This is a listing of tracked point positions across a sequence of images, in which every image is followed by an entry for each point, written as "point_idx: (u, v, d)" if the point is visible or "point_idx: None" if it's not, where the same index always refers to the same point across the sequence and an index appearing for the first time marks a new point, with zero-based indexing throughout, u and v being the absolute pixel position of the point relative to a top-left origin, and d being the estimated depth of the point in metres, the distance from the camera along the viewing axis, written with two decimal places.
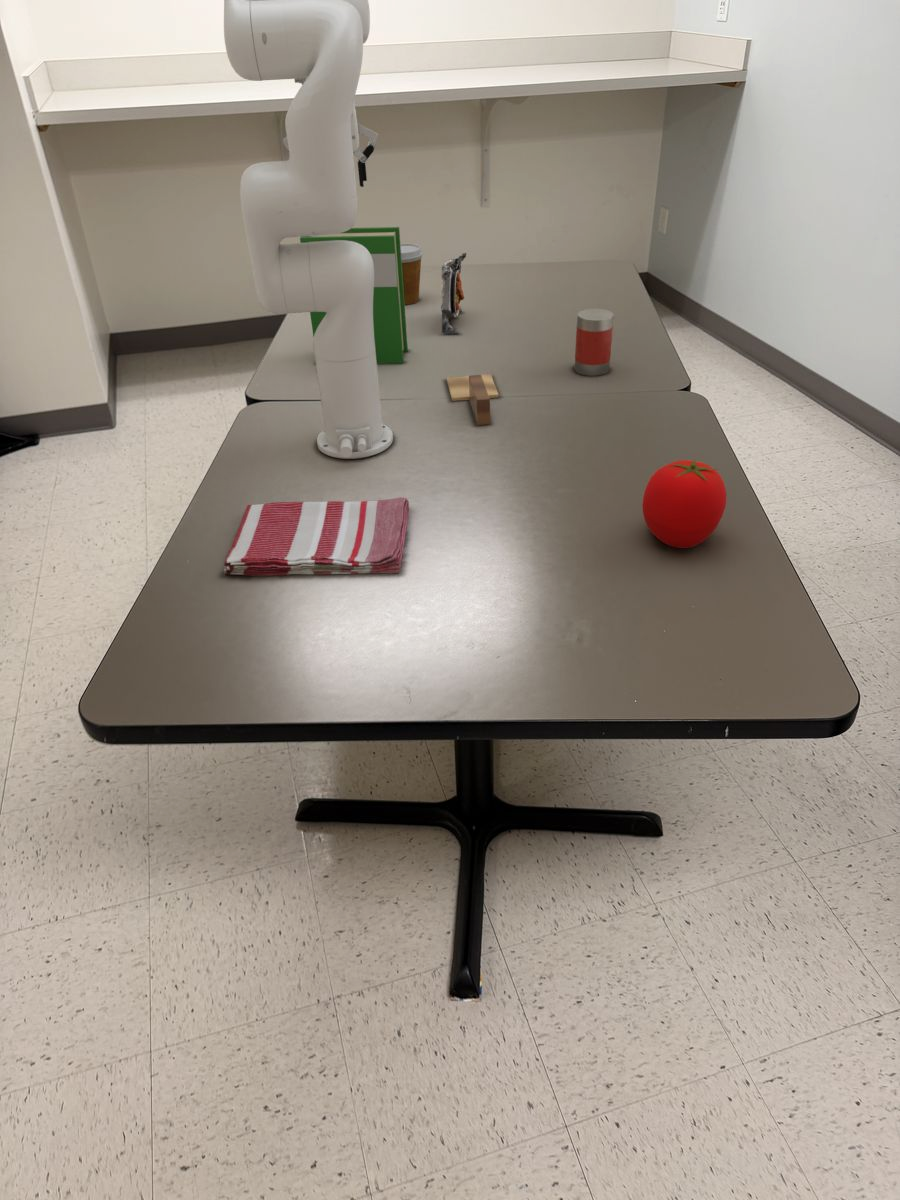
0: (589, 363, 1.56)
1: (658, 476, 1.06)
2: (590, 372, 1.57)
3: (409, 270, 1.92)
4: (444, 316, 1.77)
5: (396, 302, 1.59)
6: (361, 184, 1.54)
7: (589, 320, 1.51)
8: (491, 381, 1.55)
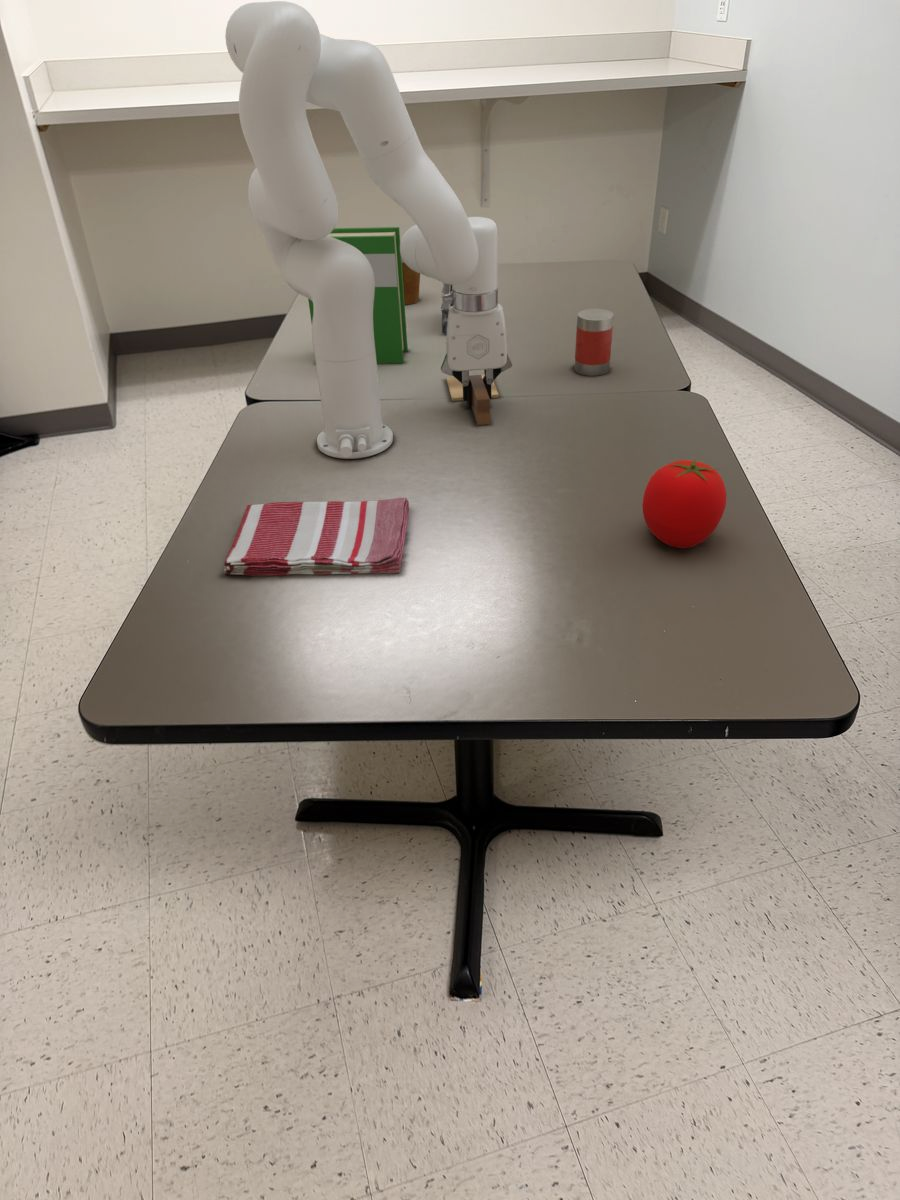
0: (589, 363, 1.56)
1: (658, 476, 1.06)
2: (590, 372, 1.57)
3: (409, 270, 1.92)
4: (444, 316, 1.77)
5: (396, 302, 1.59)
6: None
7: (589, 320, 1.51)
8: None
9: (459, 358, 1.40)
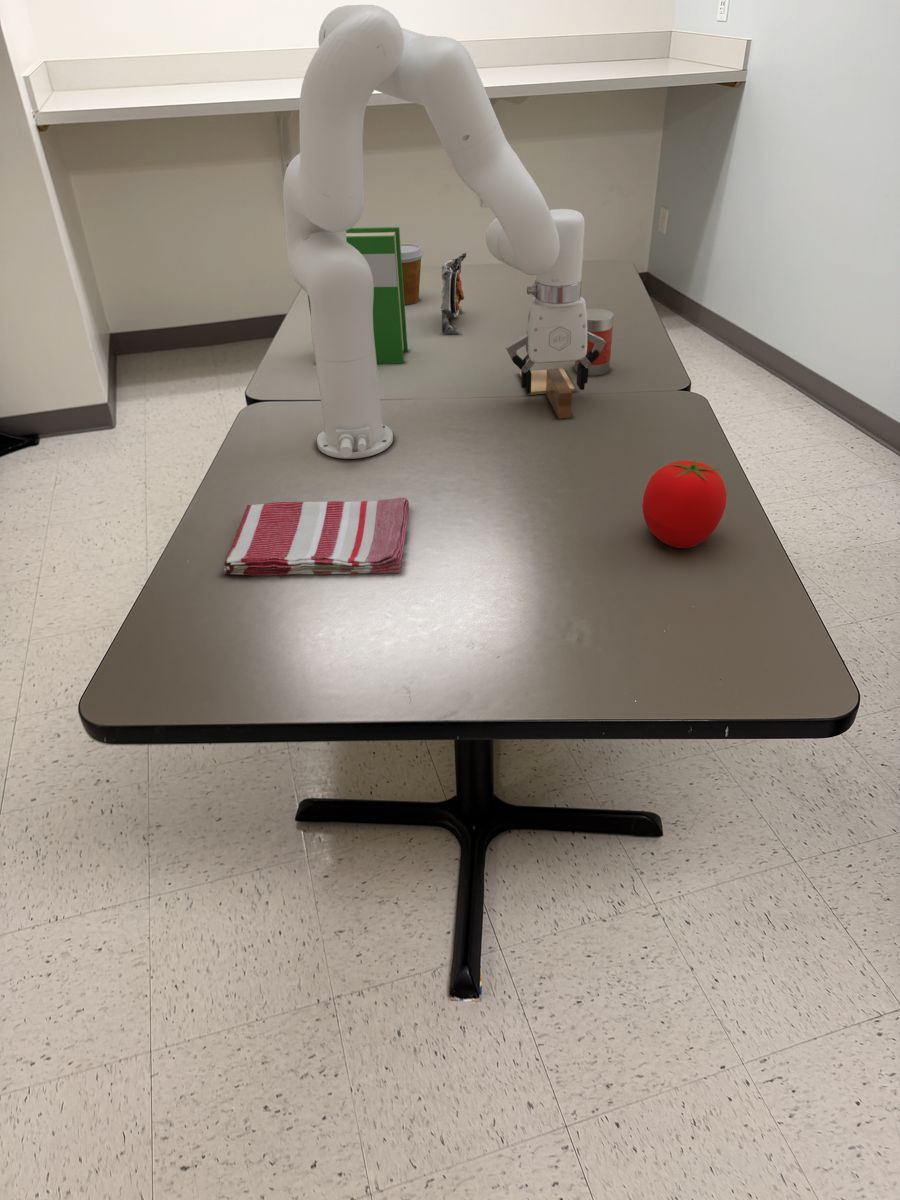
0: None
1: (658, 476, 1.06)
2: (590, 372, 1.57)
3: (409, 270, 1.92)
4: (444, 316, 1.77)
5: (396, 302, 1.59)
6: (582, 388, 1.47)
7: (589, 320, 1.51)
8: (565, 375, 1.56)
9: (540, 350, 1.41)
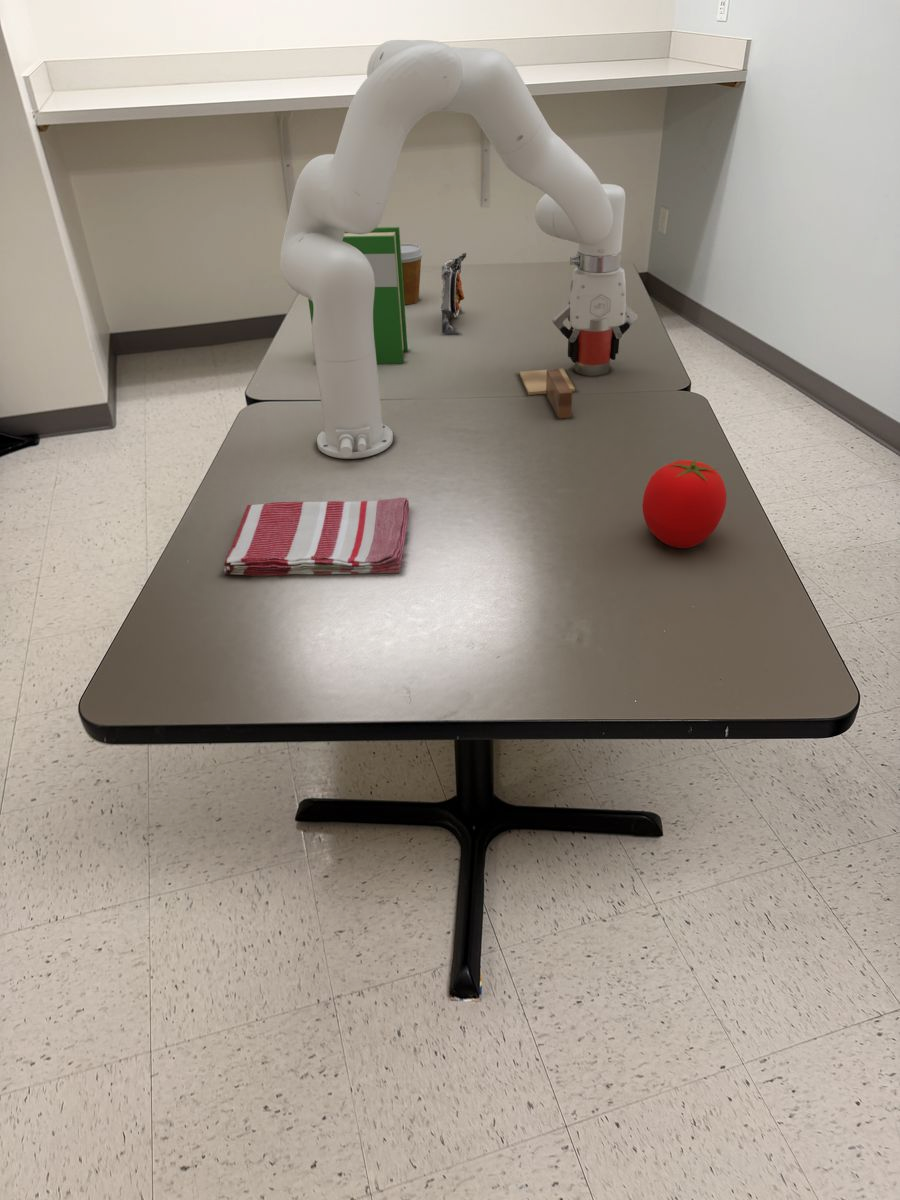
0: (589, 363, 1.56)
1: (658, 476, 1.06)
2: (590, 372, 1.57)
3: (409, 270, 1.92)
4: (444, 316, 1.77)
5: (396, 302, 1.59)
6: (613, 358, 1.57)
7: None
8: (565, 375, 1.56)
9: (581, 317, 1.51)
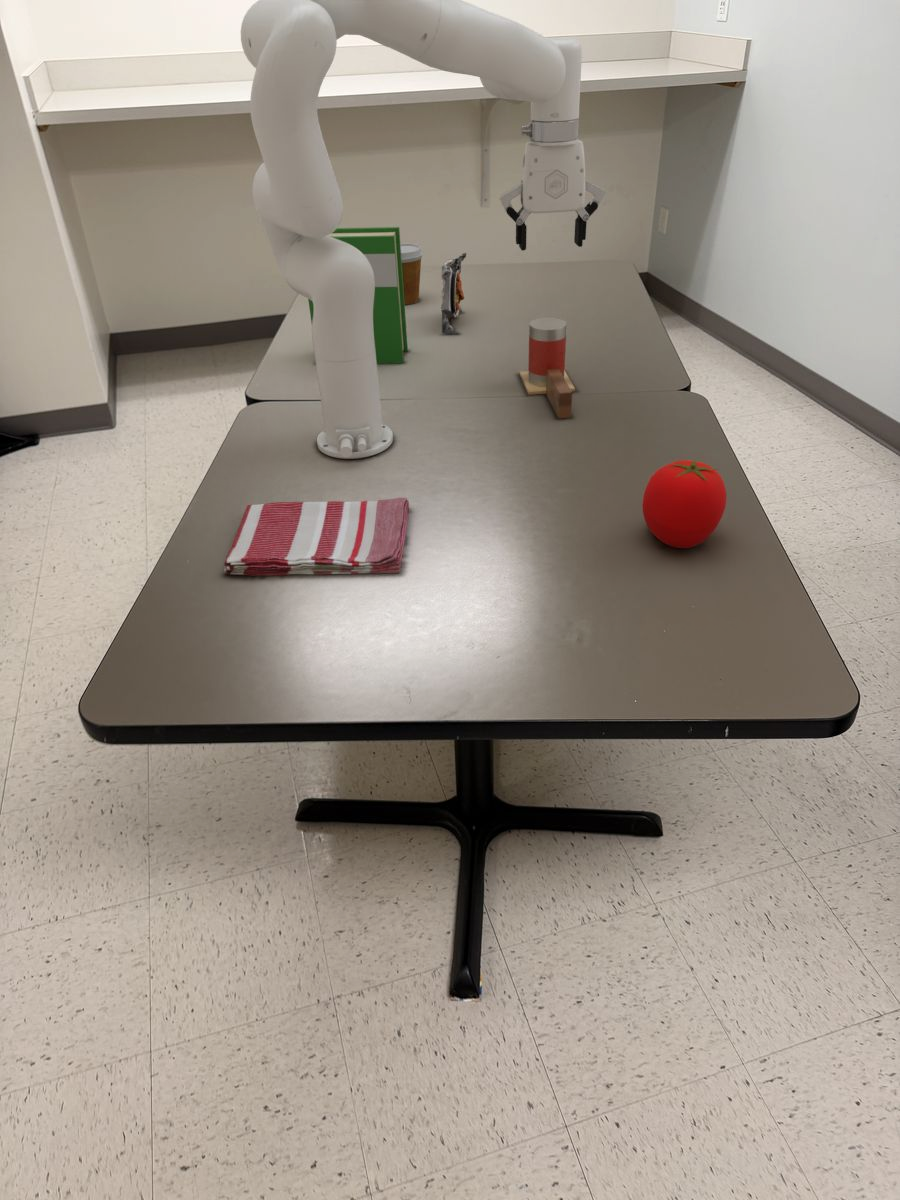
0: (542, 373, 1.51)
1: (658, 476, 1.06)
2: (543, 383, 1.52)
3: (409, 270, 1.92)
4: (444, 316, 1.77)
5: (396, 302, 1.59)
6: (580, 244, 1.40)
7: (540, 330, 1.46)
8: (565, 375, 1.56)
9: (535, 198, 1.33)
